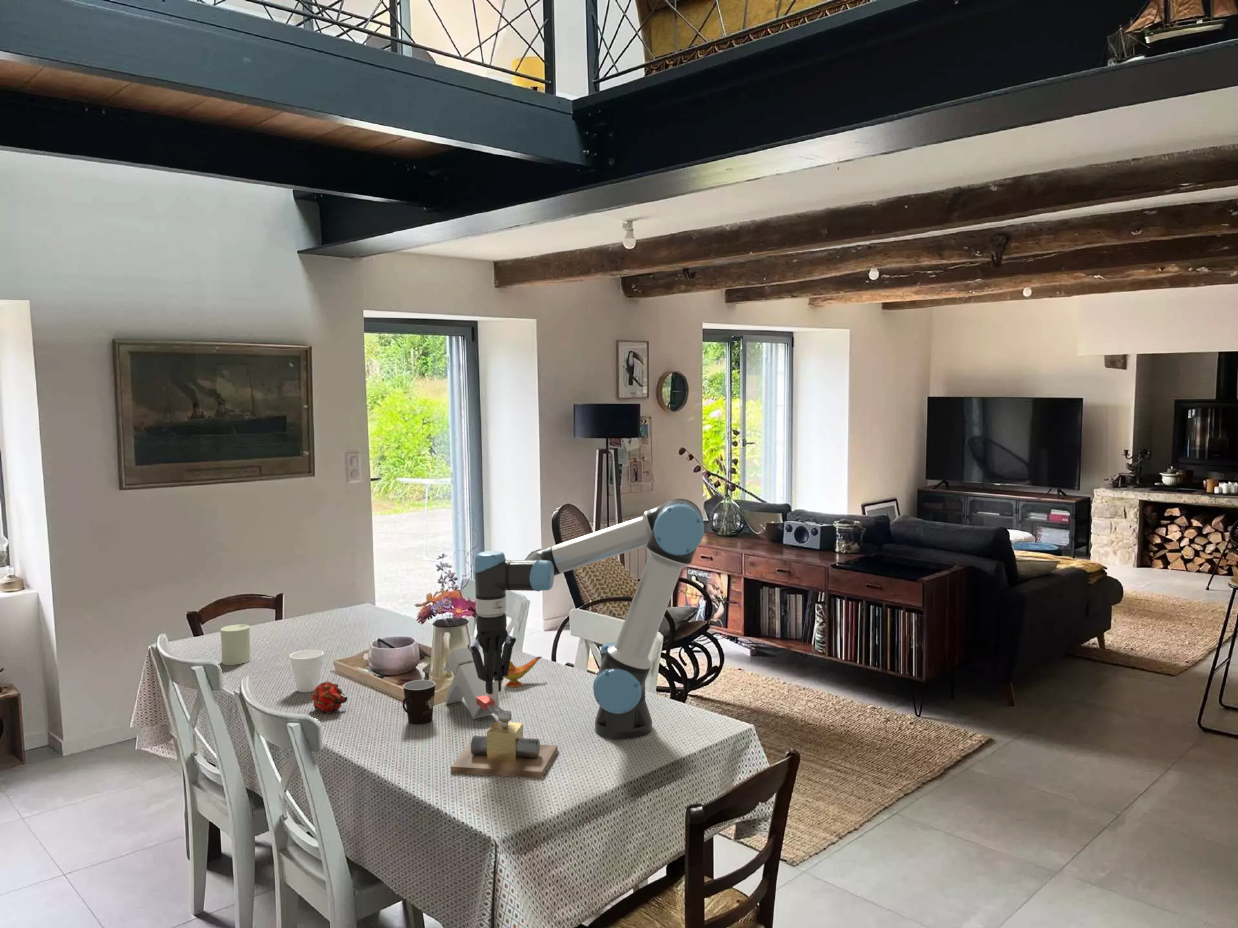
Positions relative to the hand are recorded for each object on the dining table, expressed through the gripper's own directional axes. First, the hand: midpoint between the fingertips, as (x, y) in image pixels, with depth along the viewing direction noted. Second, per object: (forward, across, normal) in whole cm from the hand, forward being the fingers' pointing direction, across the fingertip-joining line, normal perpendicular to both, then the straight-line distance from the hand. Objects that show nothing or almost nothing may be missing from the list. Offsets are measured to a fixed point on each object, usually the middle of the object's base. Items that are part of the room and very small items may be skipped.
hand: (493, 705), depth 230 cm
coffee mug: (+11, -9, +28) cm, 31 cm away
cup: (+11, -22, +74) cm, 78 cm away
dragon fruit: (+11, -24, +53) cm, 59 cm away
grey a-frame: (+11, +7, +27) cm, 30 cm away
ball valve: (+9, -3, -11) cm, 14 cm away
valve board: (+10, -3, -11) cm, 15 cm away
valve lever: (0, -3, -4) cm, 5 cm away
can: (+11, -31, +120) cm, 124 cm away
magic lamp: (+11, +31, +39) cm, 51 cm away
